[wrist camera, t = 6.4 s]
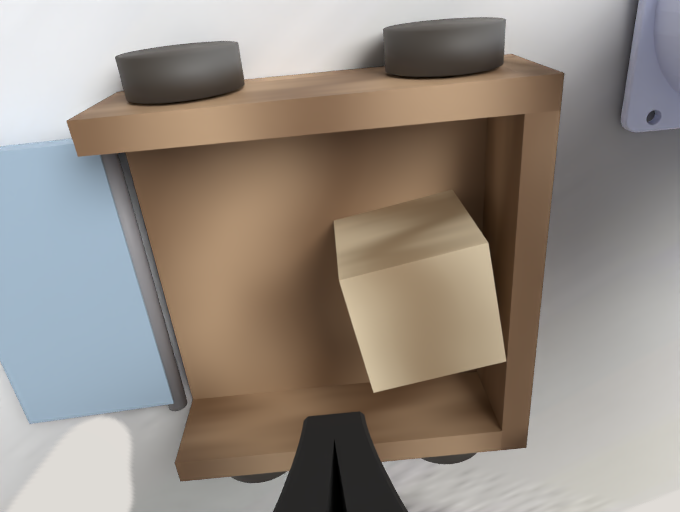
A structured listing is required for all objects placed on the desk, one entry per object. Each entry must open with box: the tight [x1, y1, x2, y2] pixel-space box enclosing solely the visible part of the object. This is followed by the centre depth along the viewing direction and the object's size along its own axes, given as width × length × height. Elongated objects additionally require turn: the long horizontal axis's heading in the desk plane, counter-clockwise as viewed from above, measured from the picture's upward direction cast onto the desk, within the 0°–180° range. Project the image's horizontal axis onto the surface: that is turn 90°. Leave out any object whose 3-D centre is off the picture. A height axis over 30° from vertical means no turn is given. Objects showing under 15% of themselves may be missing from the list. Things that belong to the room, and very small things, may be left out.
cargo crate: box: [334, 190, 506, 393], centre depth 19 cm, size 4×4×4 cm
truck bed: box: [67, 17, 564, 483], centre depth 20 cm, size 14×17×4 cm
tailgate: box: [0, 139, 187, 424], centre depth 21 cm, size 1×12×6 cm
